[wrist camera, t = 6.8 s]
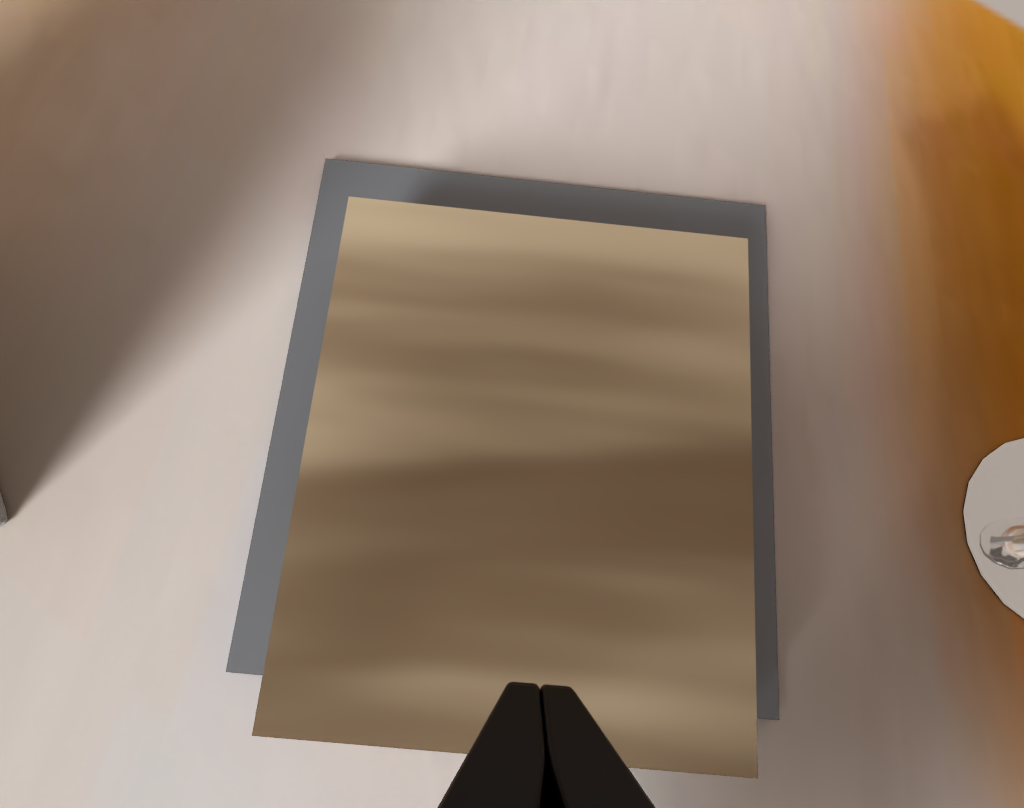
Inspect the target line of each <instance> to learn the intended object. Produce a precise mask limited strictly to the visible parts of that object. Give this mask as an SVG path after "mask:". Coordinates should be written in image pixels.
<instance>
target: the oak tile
mask: <svg viewBox="0 0 1024 808" xmlns="http://www.w3.org/2000/svg"><path fill="white" fill-rule="evenodd" d="M509 682H524V683H535V684H537V685H538V686H539V688H541V686H542V685H544V684H549V685H561V686H569V687H571V688H572V689H573V690H574V691H575V692H576V694H577V695H578V697H579V698H580V699H581V701H582V702H583V704H584V705H585V707H586V708H587V710H588V711H589V712H590V714H591V715H592V717H593V718H594V720H595V721H596V723H597V724H598V725H599V727H600V728H601V730H602V731H603V733H604V734H605V736H606V737H607V738H608V740H609V741H610V743H611V744H612V746H613V747H614V749H615V750H616V752H617V753H618V754H619V756H620V757H621V759H622V760H623V762H624V763H625V765H626V766H627V767H629V768H641V769H652V770H664V771H676V772H688V773H700V774H712V775H724V776H735V777H747V778H758V754H757V700H756V645H755V591H754V537H753V483H752V429H751V375H750V321H749V267H748V239H747V238H738V237H728V236H719V235H709V234H700V233H690V232H681V231H671V230H662V229H652V228H643V227H633V226H624V225H614V224H605V223H595V222H586V221H577V220H567V219H558V218H548V217H539V216H529V215H520V214H510V213H501V212H491V211H482V210H472V209H463V208H453V207H444V206H434V205H425V204H415V203H406V202H397V201H387V200H378V199H368V198H359V197H348V203H347V208H346V214H345V220H344V225H343V231H342V236H341V242H340V247H339V253H338V259H337V264H336V270H335V275H334V281H333V287H332V292H331V298H330V303H329V309H328V314H327V320H326V326H325V331H324V337H323V342H322V348H321V353H320V359H319V365H318V370H317V376H316V381H315V387H314V392H313V398H312V404H311V409H310V415H309V420H308V426H307V432H306V437H305V443H304V448H303V454H302V459H301V465H300V471H299V476H298V482H297V487H296V493H295V498H294V504H293V510H292V515H291V521H290V526H289V532H288V538H287V543H286V549H285V554H284V560H283V565H282V571H281V577H280V582H279V588H278V593H277V599H276V604H275V610H274V616H273V621H272V627H271V632H270V638H269V643H268V649H267V655H266V660H265V666H264V671H263V677H262V683H261V688H260V694H259V699H258V705H257V710H256V716H255V722H254V727H253V733H252V736H262V737H274V738H285V739H297V740H309V741H321V742H333V743H345V744H356V745H368V746H380V747H392V748H404V749H416V750H427V751H439V752H451V753H463V754H468V753H469V751H470V749H471V747H472V745H473V744H474V742H475V740H476V738H477V737H478V735H479V733H480V731H481V729H482V728H483V726H484V724H485V722H486V720H487V719H488V717H489V715H490V713H491V712H492V710H493V708H494V706H495V704H496V703H497V701H498V699H499V697H500V695H501V694H502V692H503V690H504V688H505V687H506V685H507V684H508V683H509Z"/></svg>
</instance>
